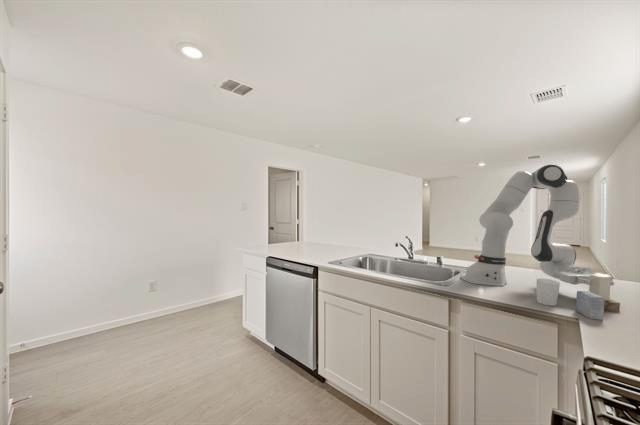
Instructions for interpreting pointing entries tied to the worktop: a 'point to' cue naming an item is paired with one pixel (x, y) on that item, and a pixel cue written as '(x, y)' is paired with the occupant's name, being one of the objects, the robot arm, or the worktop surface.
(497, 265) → the robot arm
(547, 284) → the white cup
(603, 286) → the cream pillar
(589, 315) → the medicine box
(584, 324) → the worktop surface
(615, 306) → the walnut block
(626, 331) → the worktop surface
